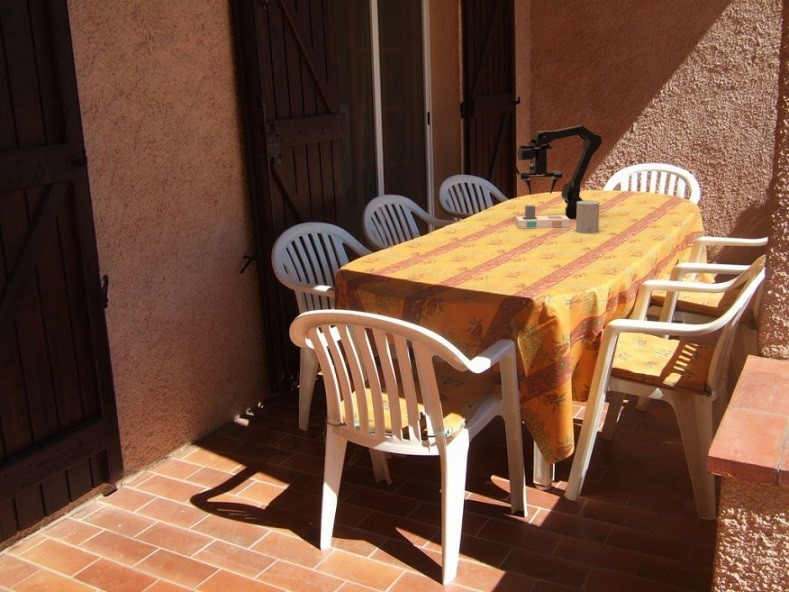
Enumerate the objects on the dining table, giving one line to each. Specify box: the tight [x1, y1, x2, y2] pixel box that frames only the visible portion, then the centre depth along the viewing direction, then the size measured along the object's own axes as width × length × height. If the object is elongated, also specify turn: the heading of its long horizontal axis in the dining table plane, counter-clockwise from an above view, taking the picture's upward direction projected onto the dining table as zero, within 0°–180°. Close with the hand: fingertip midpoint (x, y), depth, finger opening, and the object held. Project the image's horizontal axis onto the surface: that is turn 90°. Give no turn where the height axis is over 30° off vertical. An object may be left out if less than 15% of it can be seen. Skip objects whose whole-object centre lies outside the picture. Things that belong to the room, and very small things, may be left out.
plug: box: [524, 203, 536, 220], centre depth 387 cm, size 4×4×10 cm
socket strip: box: [515, 214, 571, 230], centre depth 388 cm, size 22×10×4 cm, turn 90°
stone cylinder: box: [575, 200, 600, 234], centre depth 373 cm, size 10×10×12 cm
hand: (540, 194), depth 398 cm, fingers open, 9 cm apart
